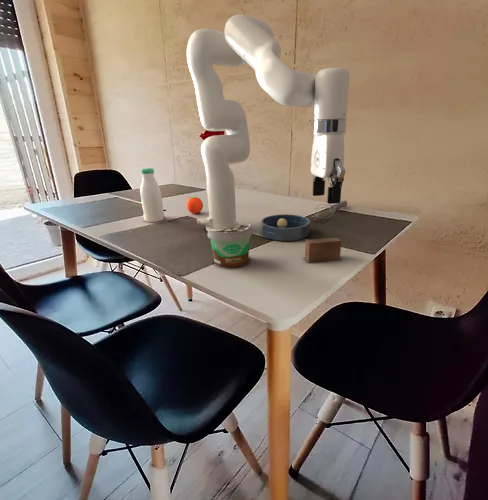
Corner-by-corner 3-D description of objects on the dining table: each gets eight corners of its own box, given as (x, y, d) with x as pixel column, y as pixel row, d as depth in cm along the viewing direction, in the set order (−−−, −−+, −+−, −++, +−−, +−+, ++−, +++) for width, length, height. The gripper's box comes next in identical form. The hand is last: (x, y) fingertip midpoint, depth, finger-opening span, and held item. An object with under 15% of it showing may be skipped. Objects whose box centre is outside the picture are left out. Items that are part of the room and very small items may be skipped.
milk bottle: (168, 218, 126) (162, 168, 118) (153, 223, 120) (145, 170, 112) (155, 216, 130) (148, 166, 122) (140, 220, 124) (131, 169, 116)
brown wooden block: (308, 262, 84) (309, 243, 82) (304, 258, 86) (305, 240, 84) (339, 259, 85) (341, 240, 83) (335, 255, 88) (337, 237, 86)
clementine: (182, 213, 133) (180, 196, 130) (195, 209, 138) (193, 193, 135) (194, 216, 128) (192, 199, 125) (207, 212, 133) (205, 196, 130)
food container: (216, 273, 79) (213, 236, 75) (209, 264, 84) (206, 229, 80) (260, 264, 83) (260, 229, 79) (251, 256, 88) (250, 222, 85)
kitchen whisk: (352, 205, 139) (354, 191, 137) (323, 226, 113) (324, 209, 111) (339, 204, 142) (340, 190, 140) (308, 223, 116) (308, 207, 114)
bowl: (267, 244, 97) (267, 230, 96) (257, 228, 112) (256, 216, 110) (316, 239, 100) (317, 226, 98) (300, 224, 115) (300, 213, 113)
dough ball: (278, 230, 107) (278, 220, 106) (275, 227, 111) (275, 217, 109) (288, 229, 108) (288, 219, 107) (285, 226, 111) (285, 216, 110)
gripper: (302, 128, 81) (300, 193, 88) (329, 128, 66) (325, 208, 72) (329, 127, 83) (325, 192, 89) (362, 127, 67) (355, 205, 73)
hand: (325, 199), depth 80 cm, fingers open, 9 cm apart
